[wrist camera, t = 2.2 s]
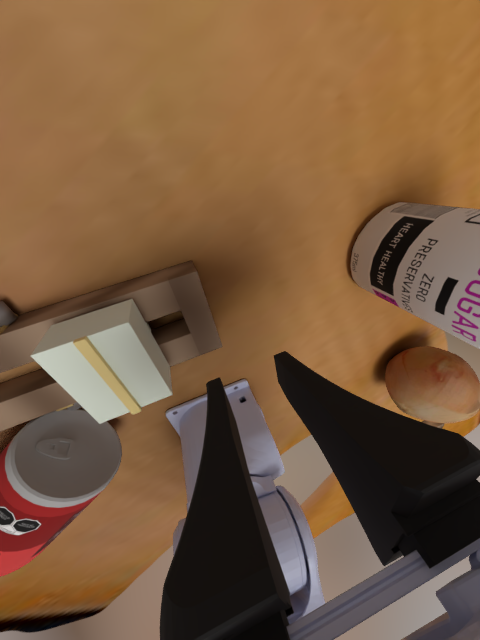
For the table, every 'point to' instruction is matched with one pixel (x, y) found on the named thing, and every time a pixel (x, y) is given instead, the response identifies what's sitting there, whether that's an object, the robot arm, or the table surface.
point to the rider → (106, 361)
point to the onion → (433, 385)
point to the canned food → (51, 480)
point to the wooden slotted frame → (146, 291)
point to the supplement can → (424, 264)
